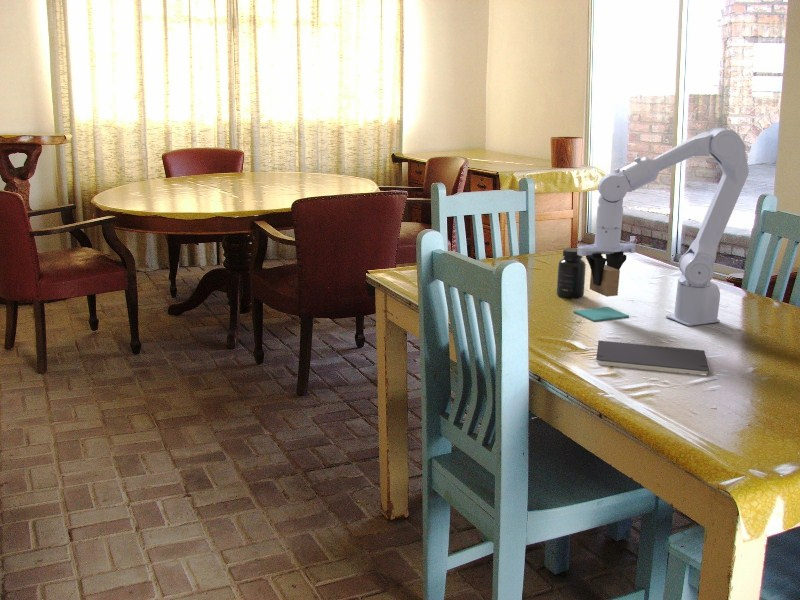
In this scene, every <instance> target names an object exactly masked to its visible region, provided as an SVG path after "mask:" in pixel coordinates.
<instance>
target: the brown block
mask: <svg viewBox="0 0 800 600" xmlns="http://www.w3.org/2000/svg"><path fill="white" fill-rule="evenodd" d="M620 274H621V270H618V269H615V268H612V267H610V266H607V264H605V265H604V269H603V275H602V282H601V286H597V285H595V284H594V283H593V277H592V272H591V271H590V277H589V278H590V280H589V290H591V291H593V292H596V293H598V294H600V295H602V296H605V297H606V298H607V297H617V296H618V294H619V283H620Z"/></svg>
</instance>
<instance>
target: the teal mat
mask: <svg viewBox="0 0 800 600" xmlns="http://www.w3.org/2000/svg"><path fill="white" fill-rule="evenodd" d="M573 313H574V314H575V315H578V316H581V317H583V318H585V319H587V320H589V321H591V322H602V321H609V320H619V319H626V318H630V315H629V314H627V313H624V312H621V311H619V310H617V309H614V308H613V307H609V306H604V307H596V308H595V307H594V308H587V309H578V310H573Z"/></svg>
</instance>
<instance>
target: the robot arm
mask: <svg viewBox="0 0 800 600" xmlns="http://www.w3.org/2000/svg"><path fill="white" fill-rule="evenodd" d="M746 146H747V145H746V143H745V142H744V141H743V139H742V138H741V136H740V134H738V133H737V132H736V131H735V130H733V129H732V130H731V129H728V128H726V127H723V126H716V127H713V128H711V129H710V130H708V131H704V132H701V133H699V134H696V135H695V136H692V137H689V138H688V139H686V140H685V141H683V142H681V143H678V145H675V146H674V147H672V148H670V149H668V150H667V151H665V152H663V153H661V154H660V155H657V156H656V157H654V158H651V157H648V156H643V157H640V156H637V157H635V158H634V159H633V161H634V162H631V163H629V164H627V165H625V166H623V167H621V168H619V167H617V168H616V169H614V172H615V173H607V174H605V175H603V176H602V177H601V178H600V180H599V182H598V184H597V190H598V192H599V194H600V195H599V197H598V205H597V209H596V222H595V236H594V243H592V244H586V245H582V246H580V245H579V246H577V249H578V250H577V255H579V256H583V257H585V258H586V260H587V263H588V264H589V265H588V266H589V268H590V273H591V272H592V277H593V283H594V284H595V285H597V286H601V282H602V275H603V269H604V265H607V266H610V267H612V268H615V269H618V270H620V269H621V267H622V266H623V264H624V263H625V262H626V261H627V255H626V254H625V253H631V254H635V253H636V246H637V245H636V244H634V243H631V242H629V243H624V242H623V243H621V235H622V225H623V224H622V223H623V215H624V214H623V213H624V208H623V203H624V198H625V197H626V195H627V193H631V192H634V191H636V190H637V189H639V188H642V187H643V186H646V185H648V184H650V183H652V182H654V181H657V179H658V176H659V174H660V172H661V171H664V170H666V169H668V168H670V167H673V166H674V165H677V164H679V163H681V162H683V161H685V160H687V159H690V158H693V157H708V158H709V157H711V156H712V157H713V159H714V160H715V161H716V163H717V165H718V166H719V168H720V170H721V173H722V175H721V178H720V180H719V182H718V184H717V187H716V190H715V192H714V194H713V196H712V198H711V201H710V202H709V203H710V204H709V206H708V208H707V211H706V213H705V216H704V218H703V221H702V223H701V226H699V227H700V228H699V229H698V233H697V235H696V236H695V239H694V240H693V241H692V242H691V243H690V244H689V248H688V250H687V251H686V252H685V253H683V255H682V256H681V257H680V258H679V261H678V268H679V271H680V272H681V273H682V274H681V275H680V277H679V278H678V279H677V283H676V285H677V286H676V294H675V295H676V296H675V304H674V313H670V314H665V318H667V319H670V320H672V321H675V322H677V323H680V324H683V325H685V326H687V327H692V326H699V325H706V324H707V325H708V324H714V323H719V322H720V319H718V316H719V307H720V301H721V292H720V288H719V286H718V285H717V284H716V283H715V282H713V281H712V279H713V277H714V275H715V274H714V273H715V270H714V265H715V264H714V263H715V261H716V259H717V251H718V250H717V249H718V246H719V243H720V241H721V240H722V236H723V234H724V232H725V230H726V227H727V225H728V223H729V221H730V218H731V215H732V214H733V211H734V209H735V206H736V204H737V202H738V199H739V197H740V195H741V193H742V191H743V187H744V185H745V183H746V181H747V179H748V177H749V172H750V170H749V164H748V158H747V154H746ZM603 255H605V257H604V256H603ZM620 271H621V270H620Z"/></svg>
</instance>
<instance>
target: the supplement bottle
mask: <svg viewBox="0 0 800 600" xmlns="http://www.w3.org/2000/svg"><path fill="white" fill-rule="evenodd" d="M577 250H578V247H577V248H575V247H568V248H564V249H563V250H562V259H560V260H559V262H558V265H557V279H556V295H557V296H558V297H560V298H562V299H566V300H567V299H568V300H577V299H578V300H579V299H581V298H583V297H584V296H585V295H584V293H585V283H586V281H585V279H586V262H585V261H584V260H583V259H582V258H583V257H584V256H579V255H577Z"/></svg>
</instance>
